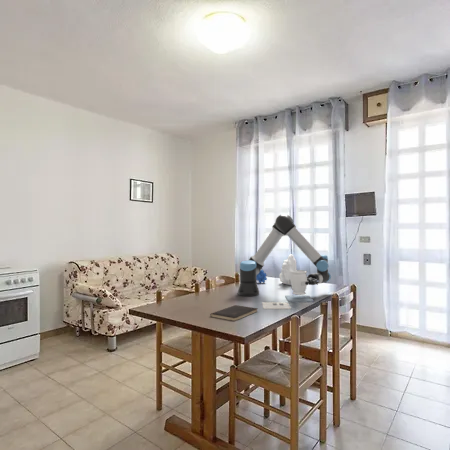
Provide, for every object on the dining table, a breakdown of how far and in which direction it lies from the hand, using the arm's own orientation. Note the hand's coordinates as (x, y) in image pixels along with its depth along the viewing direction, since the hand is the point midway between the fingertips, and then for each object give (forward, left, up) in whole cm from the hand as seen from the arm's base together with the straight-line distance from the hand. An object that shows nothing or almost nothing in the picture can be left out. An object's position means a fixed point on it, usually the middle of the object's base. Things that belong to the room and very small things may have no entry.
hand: (294, 282), depth 216 cm
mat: (+3, +3, -11) cm, 12 cm away
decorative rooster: (+2, +60, -12) cm, 61 cm away
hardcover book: (-38, -34, -12) cm, 52 cm away
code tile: (-14, -14, -11) cm, 23 cm away
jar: (+3, +3, -8) cm, 9 cm away
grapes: (-20, +68, -12) cm, 72 cm away
